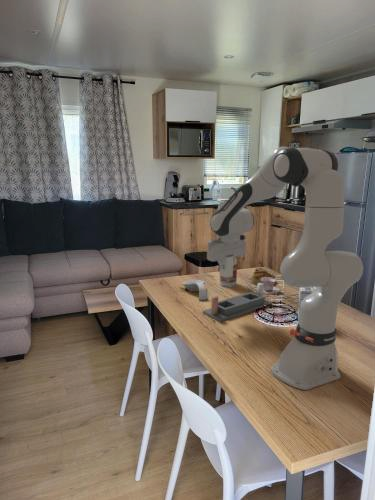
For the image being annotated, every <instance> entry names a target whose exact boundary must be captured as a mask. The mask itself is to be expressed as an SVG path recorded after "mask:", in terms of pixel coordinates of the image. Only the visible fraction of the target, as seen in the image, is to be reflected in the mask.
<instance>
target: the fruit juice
mask: <svg viewBox="0 0 375 500" xmlns="http://www.w3.org/2000/svg"><path fill="white" fill-rule="evenodd" d="M237 267H238V259H237V257H236V260H235V262H234V267H233V276H231V277H227V278H226V277H223V276H220V275H219V285H220V286H222V287H226V288H227V287H229V288H230V287H234V286H236V285H237V281H238V280H237V279H238V277H237V275H238V274H237V272H238V268H237Z"/></svg>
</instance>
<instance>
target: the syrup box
mask: <svg viewBox="0 0 375 500" xmlns="http://www.w3.org/2000/svg"><path fill="white" fill-rule="evenodd" d="M298 288H299V289H298V303H297V304H298V306H297V307H298V308H297V320H298V322H299V317H300V304H301V302H302V300H303V299H304V298H305V297H306V296H308V295H310V294H311V293H312V292H313V291H314V290H315V289H314V287H307V288H301V287H298Z"/></svg>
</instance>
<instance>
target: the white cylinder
mask: <svg viewBox="0 0 375 500" xmlns="http://www.w3.org/2000/svg"><path fill="white" fill-rule="evenodd" d="M222 264H223V265H225V268H224V269H220V268H219V277H220V276H223V277H226V278H227V277H231V276H233V254H230V255H226V259H223V262H222Z"/></svg>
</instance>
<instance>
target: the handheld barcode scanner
mask: <svg viewBox="0 0 375 500" xmlns="http://www.w3.org/2000/svg"><path fill="white" fill-rule="evenodd" d="M205 283H206V282H205V281H204V280H199V279H192V280H191V279H190V280H185V281H183V282H182V285H183V286H184V288H185V289H187V290H188V291H190V290H192V291H191V292H197V291H196V290H198V291H199V293H198V301H205V300H206V299H207V300H209V296H208V292H207V289H206V286H205Z"/></svg>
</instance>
